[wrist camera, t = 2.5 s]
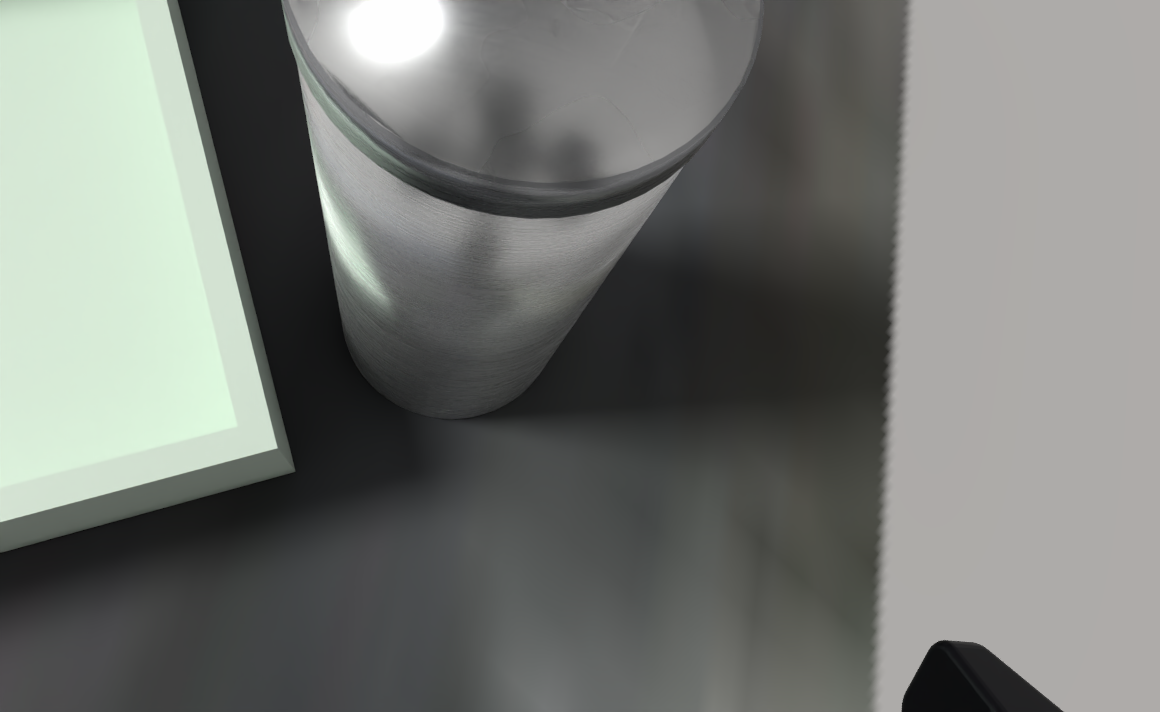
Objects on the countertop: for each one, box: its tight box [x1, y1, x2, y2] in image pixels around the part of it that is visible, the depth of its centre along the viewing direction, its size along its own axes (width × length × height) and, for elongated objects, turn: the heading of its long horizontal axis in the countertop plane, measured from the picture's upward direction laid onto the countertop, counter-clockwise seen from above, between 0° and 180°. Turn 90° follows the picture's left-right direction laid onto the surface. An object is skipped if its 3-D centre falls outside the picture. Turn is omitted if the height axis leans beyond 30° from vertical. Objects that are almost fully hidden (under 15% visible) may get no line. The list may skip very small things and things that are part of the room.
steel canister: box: [281, 0, 764, 419], centre depth 16 cm, size 5×5×13 cm
